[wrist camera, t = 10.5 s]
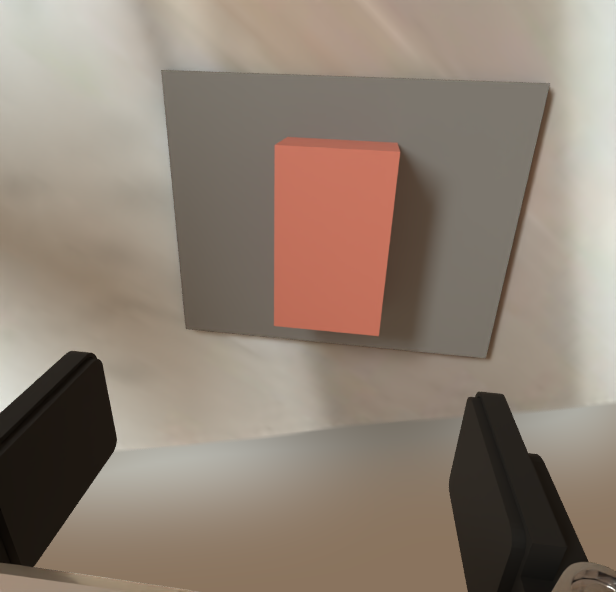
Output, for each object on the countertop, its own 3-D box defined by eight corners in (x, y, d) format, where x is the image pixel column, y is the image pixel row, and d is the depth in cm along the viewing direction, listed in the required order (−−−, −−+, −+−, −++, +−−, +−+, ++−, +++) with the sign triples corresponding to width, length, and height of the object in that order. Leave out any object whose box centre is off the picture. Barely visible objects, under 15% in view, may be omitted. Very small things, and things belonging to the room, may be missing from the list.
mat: (189, 324, 32) (185, 328, 32) (166, 70, 25) (161, 70, 25) (483, 353, 30) (485, 358, 29) (546, 83, 23) (550, 83, 23)
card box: (287, 136, 25) (274, 144, 22) (397, 142, 25) (400, 151, 22) (285, 299, 30) (274, 325, 26) (378, 308, 29) (378, 336, 26)
